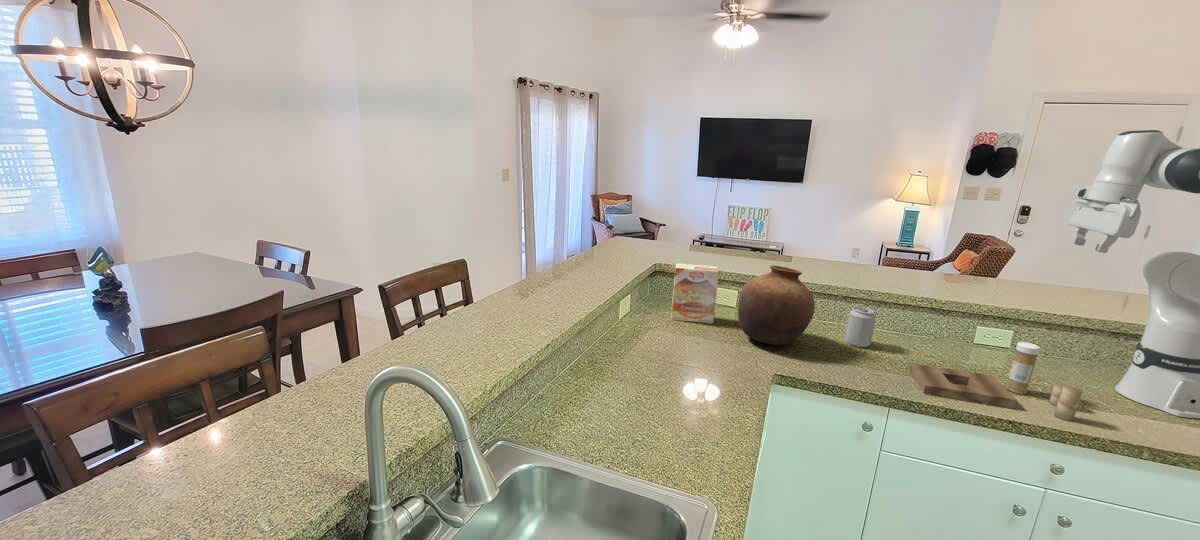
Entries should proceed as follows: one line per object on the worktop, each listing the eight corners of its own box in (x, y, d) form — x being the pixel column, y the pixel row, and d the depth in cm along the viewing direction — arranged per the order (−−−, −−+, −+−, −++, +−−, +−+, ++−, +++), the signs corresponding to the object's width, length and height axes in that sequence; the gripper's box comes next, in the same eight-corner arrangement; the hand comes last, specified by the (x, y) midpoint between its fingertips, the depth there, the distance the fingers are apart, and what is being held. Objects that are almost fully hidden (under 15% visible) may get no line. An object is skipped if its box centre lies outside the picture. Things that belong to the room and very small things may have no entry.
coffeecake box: (670, 320, 172) (675, 267, 167) (671, 313, 179) (675, 262, 174) (713, 324, 170) (719, 270, 165) (712, 317, 177) (717, 265, 172)
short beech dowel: (1062, 403, 125) (1067, 385, 124) (1069, 409, 122) (1075, 391, 121) (1046, 400, 126) (1051, 383, 125) (1053, 406, 123) (1058, 389, 122)
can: (871, 343, 159) (877, 308, 156) (869, 350, 153) (876, 315, 150) (845, 337, 163) (852, 303, 160) (843, 344, 157) (849, 309, 153)
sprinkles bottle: (1029, 392, 130) (1043, 346, 126) (1023, 396, 128) (1037, 349, 124) (1008, 384, 134) (1021, 340, 130) (1002, 388, 131) (1015, 343, 128)
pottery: (729, 347, 151) (739, 270, 145) (739, 323, 172) (747, 255, 165) (808, 362, 143) (821, 281, 136) (808, 334, 164) (819, 263, 157)
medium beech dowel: (1068, 415, 119) (1077, 387, 117) (1076, 422, 116) (1085, 394, 114) (1051, 412, 120) (1059, 385, 118) (1058, 419, 117) (1067, 391, 115)
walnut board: (990, 383, 134) (992, 375, 133) (1014, 409, 121) (1017, 400, 120) (908, 370, 140) (910, 362, 139) (923, 393, 127) (925, 385, 126)
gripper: (1158, 202, 111) (1131, 259, 115) (1101, 194, 130) (1080, 243, 134) (1125, 197, 113) (1099, 254, 117) (1073, 190, 132) (1053, 239, 136)
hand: (1088, 248), depth 125 cm, fingers open, 8 cm apart
